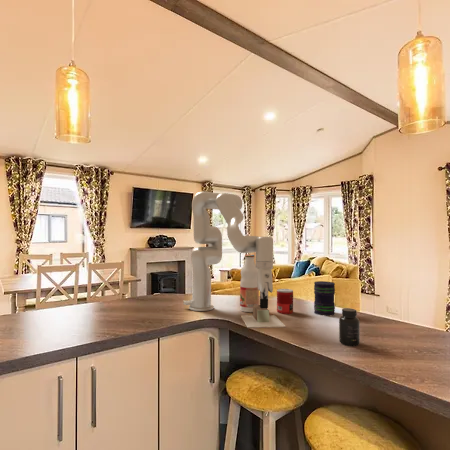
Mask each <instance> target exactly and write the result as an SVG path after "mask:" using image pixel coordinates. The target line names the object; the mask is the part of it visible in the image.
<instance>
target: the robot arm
mask: <svg viewBox="0 0 450 450" xmlns="http://www.w3.org/2000/svg"><path fill="white" fill-rule="evenodd" d="M242 208H243V199H242V198H241V196H239V195H237V194H235V193H228V192H227V193H226V192H225V193H223V192H222V193H218V192H212V191H198V192H197V193H196V194H195V195H194V196H193V198H192V201H191V211H192V217H193V221H192V223H193V240H194V242H195V243H196V244H199V245H207V246H199V247H195V248H194V249H192V251H191V253H190V261H191V265H192V266H191V267H192V286H191V287H192V294H191V295H192V297H191V299H190V300H183V305H185V306H188V308H189V310H191V311H194V312H207V311H212V310H214V309H215V307H214V305H213V304H212V272H211V269H210V267H209V266H210V265H212V266H213V265H217V264H219V263H220V262H221V260H222V258H223V236H222V235H223V234H222V231H221V230H220V228H219V227H217V226H214V225H212V226H211V224H210V223H211V222H210V221H211V219H210V214H209V212H208V210H207V209H210V210H217V211H218V210H219V212H220V214H221V215H222V218H223V219H224V221H225V223H226V224H227V227H226V232H227V234H226V235H227V238H228V240H229V242H230V244H231V245H232V247H233V248H234V250H235V251H236V252H238V253H239V254H240V253H241V254H246V253H250V254H251V253H255V266H256V269H258V275H257V287H258V290H259V305H260V308H267V309H268V308H269V293H273V291H274V287H273V284H274V283H273V271H272V270H273V269H274V238H273V237H272V236H258V235H244V234H243V232H242V231H241V229H240V227H239V225H240V224H241V223H242V221H243V220H244V218H245V216H244V213H242V211H241V209H242Z"/></svg>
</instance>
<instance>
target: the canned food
mask: <svg viewBox="0 0 450 450" xmlns="http://www.w3.org/2000/svg"><path fill="white" fill-rule="evenodd" d="M276 311H277V313H278V314H282V315H290V314H293V312H294V290H293V289H289V288H278V289H277V290H276Z"/></svg>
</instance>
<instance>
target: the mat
mask: <svg viewBox="0 0 450 450" xmlns="http://www.w3.org/2000/svg"><path fill="white" fill-rule="evenodd" d="M240 316H241V319H242V321H243V322H244V324H245V326H246V327H247V329H255V328H258V329H260V328H286V325H285V324H284V323H283V322H282V321H281V320H280V319H279V318H278V317H277V316H276V315H275V314H273V315H272V314H271V315H270V314H269V322H257V321H256V319H255V318H254V317H253V315H240Z"/></svg>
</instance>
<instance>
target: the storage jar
mask: <svg viewBox="0 0 450 450" xmlns="http://www.w3.org/2000/svg"><path fill="white" fill-rule="evenodd" d="M313 283H314V285H313V290H314V291H313V293H314V302H313V308H314V309H313V310H314V314H315V315H319V316H323V315H326V316H325V317H330V315H332V316H335V315H334V314H335V310H336V304H335V295H336V292H335V291H336V289H335V288H336V286H335V282H332V281H322V280H321V281H318V280H317V281H314V282H313Z"/></svg>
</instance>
